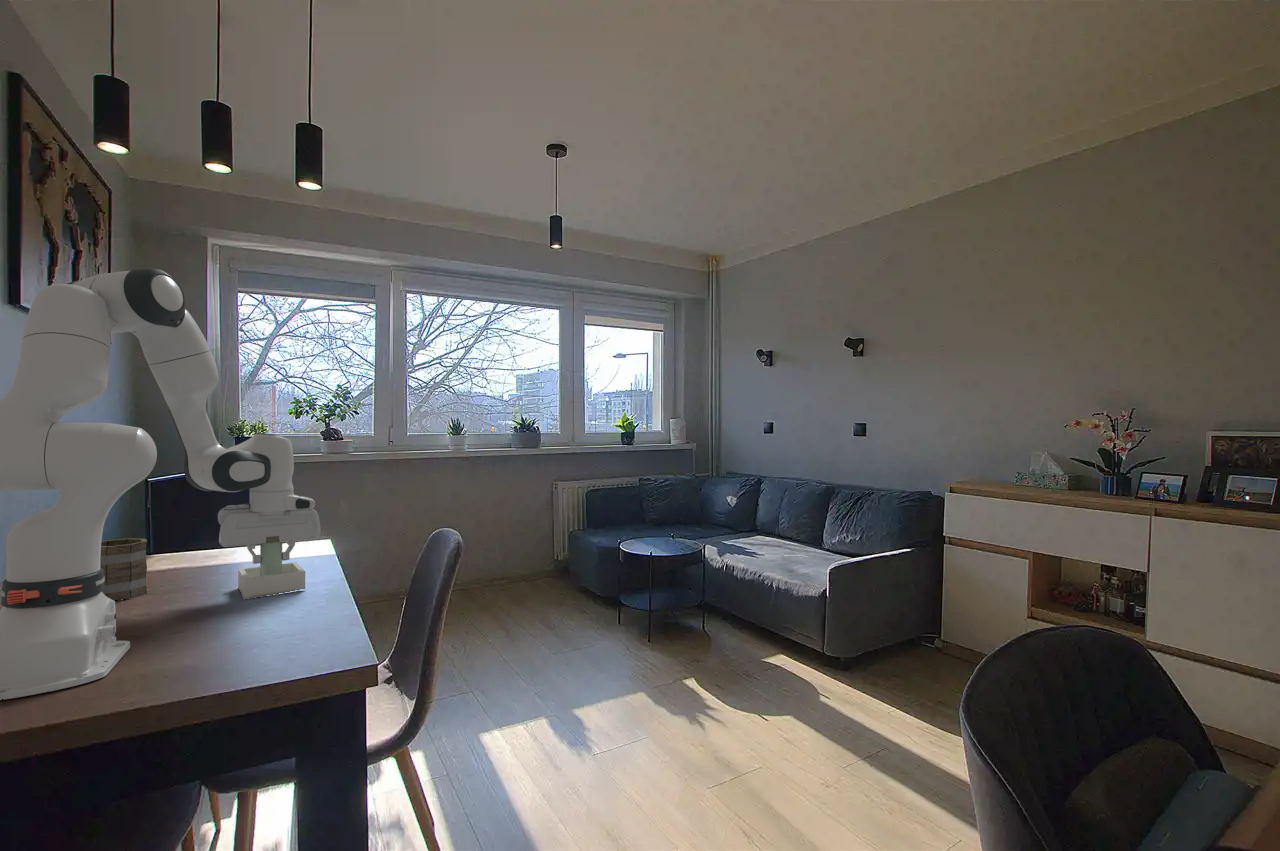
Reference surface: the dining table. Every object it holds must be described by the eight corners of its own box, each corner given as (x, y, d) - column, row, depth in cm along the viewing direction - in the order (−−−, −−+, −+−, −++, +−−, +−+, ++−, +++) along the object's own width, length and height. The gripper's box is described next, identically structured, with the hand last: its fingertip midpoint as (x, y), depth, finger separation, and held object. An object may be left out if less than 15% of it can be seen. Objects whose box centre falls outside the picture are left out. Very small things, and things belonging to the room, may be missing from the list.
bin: (305, 591, 141) (305, 571, 141) (243, 600, 133) (244, 579, 133) (296, 580, 150) (296, 561, 150) (238, 588, 142) (238, 568, 142)
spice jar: (283, 579, 141) (284, 535, 141) (260, 582, 138) (261, 538, 138) (280, 575, 145) (281, 533, 145) (258, 578, 142) (258, 535, 142)
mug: (158, 592, 138) (159, 540, 138) (100, 605, 129) (101, 549, 129) (121, 584, 145) (121, 534, 145) (63, 596, 135) (63, 542, 135)
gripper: (219, 507, 133) (218, 570, 133) (322, 500, 145) (321, 558, 145) (216, 504, 137) (216, 565, 137) (316, 498, 150) (316, 553, 150)
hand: (271, 561), depth 142 cm, fingers closed on spice jar, 4 cm apart
